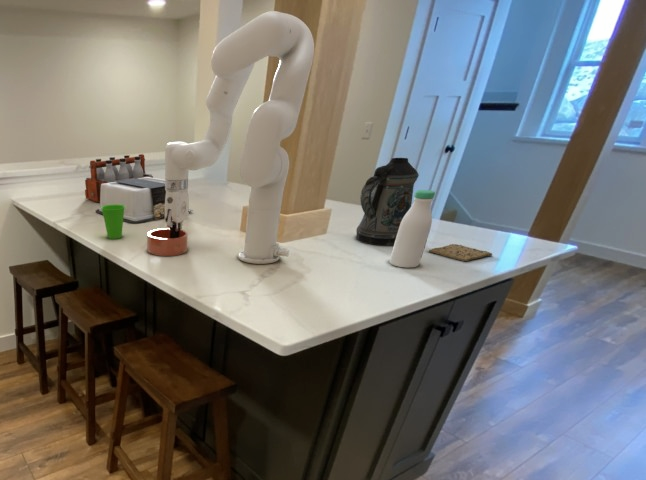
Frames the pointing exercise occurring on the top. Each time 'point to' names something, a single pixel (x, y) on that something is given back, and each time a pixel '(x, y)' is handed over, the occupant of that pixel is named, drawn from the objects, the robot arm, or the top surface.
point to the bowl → (166, 242)
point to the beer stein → (386, 202)
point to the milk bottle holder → (113, 173)
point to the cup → (113, 220)
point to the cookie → (460, 252)
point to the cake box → (136, 198)
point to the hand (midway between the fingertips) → (175, 241)
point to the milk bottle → (413, 231)
